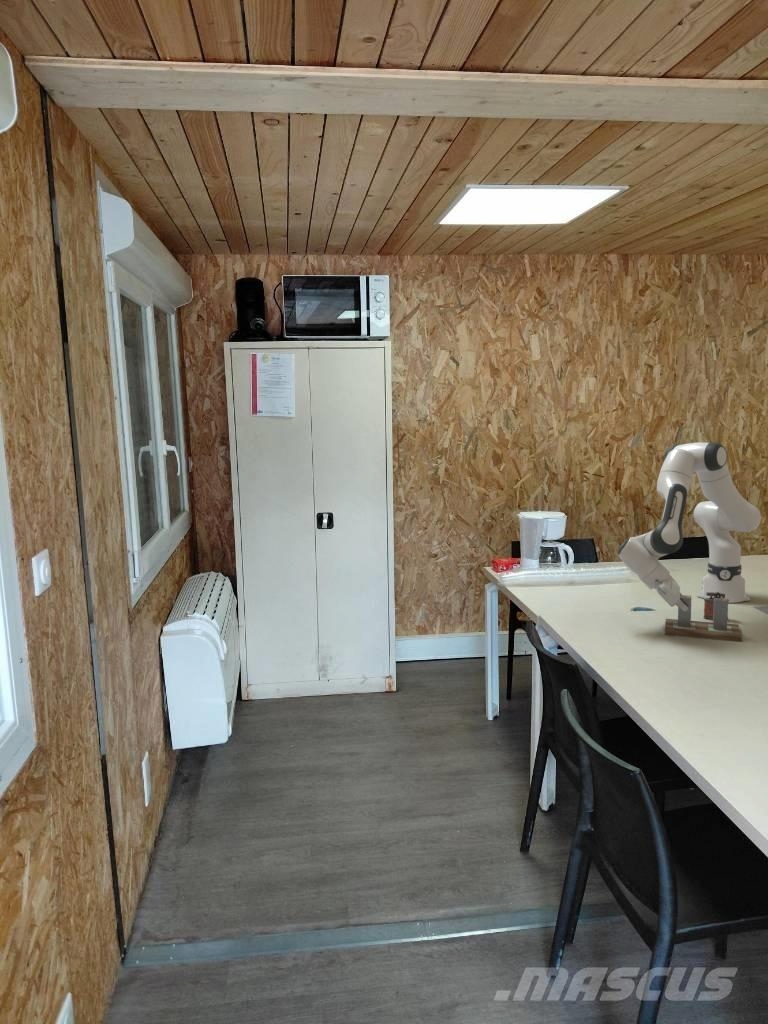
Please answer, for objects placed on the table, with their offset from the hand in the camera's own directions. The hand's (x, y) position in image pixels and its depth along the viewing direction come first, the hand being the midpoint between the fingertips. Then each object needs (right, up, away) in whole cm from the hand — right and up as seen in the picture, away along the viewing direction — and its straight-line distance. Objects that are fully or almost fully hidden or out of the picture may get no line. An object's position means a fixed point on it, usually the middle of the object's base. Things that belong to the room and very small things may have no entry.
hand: (686, 607), depth 226 cm
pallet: (+5, -8, -1) cm, 10 cm away
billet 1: (0, -6, +1) cm, 7 cm away
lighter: (+16, -6, +12) cm, 21 cm away
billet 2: (+10, -7, -3) cm, 12 cm away
